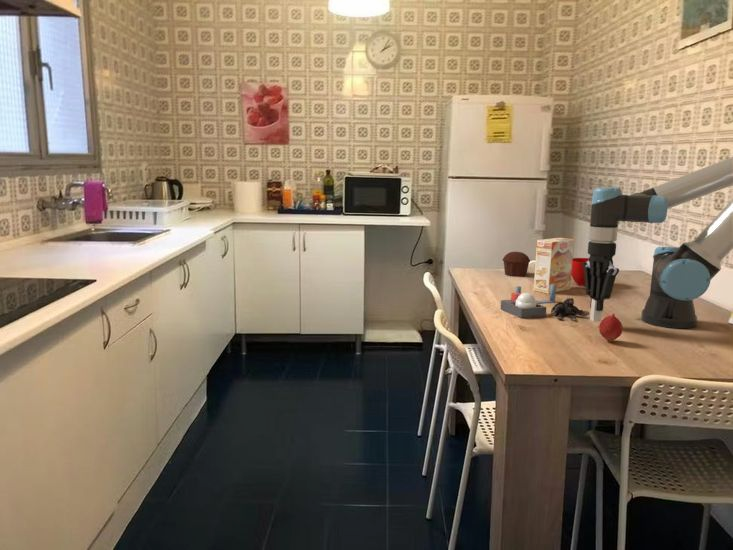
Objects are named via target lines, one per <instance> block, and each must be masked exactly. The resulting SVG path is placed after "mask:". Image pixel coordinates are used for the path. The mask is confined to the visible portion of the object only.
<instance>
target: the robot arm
mask: <svg viewBox="0 0 733 550" xmlns="http://www.w3.org/2000/svg"><path fill="white" fill-rule="evenodd" d="M732 186H733V156H731V157H729V158H725V159H723V160H721V161H718V162H716V163H712V164H710V165H708V166H705V167H702V168H700V169H698V170H694V171H692V172H690V173H687V174H684V175H682V176H679V177H676V178H674V179H672V180H669V181H666V182H664V183H661V184H659V185H656V186H653V187H651V188H649V189H645V190H643V191H640V192H635V193H633V194H631V195H630V194H629V195H628V194H623V193H622V189H621V188H620V187H610V186H609V187H608V186H607V187H605V186H603V187H601V186H599V187H595V188H594V189H593V191H592V198H591V205H590V206H591V207H590V218H589V219H590V220H589V223H590V224H589V231H588V239H589V240H590V241H589V242H588V243H587V244H588V245H587V254H588V255H589V257H588V258H589V260H588V261H587V262H583V263H582V265H583V268H584V275H585V286H584V287H585V295H587V296H589V298H590V306H589V308H590V313H589V321H591V322H601V321H602V312H603V310H604V302H605V300H610V298H611V295H612V292H613V288H614V284H615V281H616V278H617V276H618V274H619V272H620V269H619V268H618V267H615V265H614V261H613V257H614V256H616V252H617V243H616V241H617V240H618V239H617V238H618V231H619V229H618V228H619V222H624V223H625V222H630V223H647V224H648V223H650V224H659V223H660V224H662V223H664V222H665V221H666V219H667V215H668V209H670V208H673V207H677V206H679V205H680V206H681V205H682V204H685V203H687V202H691V201H693V200H696V199H699V198H701V197H705V196H706V195H710V194H712V193H716V192H718V191H721V190H723V189H726V188H728V187H732ZM732 250H733V198H732V199H731V200H730V202H728V203H727V204H726V206H725V207H723V209H722V210H721V211H720V212H719V213H718V214H717V215H716V216H715V217H714V218H713V220H711V222H709V224H708V225H707V226H706V227H705V228H704V229H703V230H702V231H701V232H700V233H699V234H698V235H697V236H696V237H695V239H694V240H692V241H687V242H685V241H684V242H682V244H681V245H680V246H679V247H675V246H673V247H672V246H658V247H655V249H654V253H653V255H652V259H653V262H652V270H651V271H652V272H651V279H650V281H651V282H650V290H649V296H648V299H647V300H646V303H645V305H644V308H643V309H642V311H641V315H640V319H641V321H643V322H644V323H646V324H650V325H653V326H657V327H658V326H659V327H662V328H663V327H664V328H671V329H690V328H691V329H692V328H696V326H697V324H698V323H697V322H698V316H697V315H696V311H695V310H696V309H695V303H694V300H695V299H697V298H700V297H701V296H703V295H704V294H705V293H706V292H707V291H708V288H709V287H710V285H711V280H712V279H713V278H714V277H715V276H716V275H717V274H718V273H719V272H720V271H721V270H722V264H721V263H722V261H723V259H725V257H726V256H727V255H729V253H730V252H731V251H732ZM613 265H614V266H613Z"/></svg>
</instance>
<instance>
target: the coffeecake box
mask: <svg viewBox="0 0 733 550" xmlns="http://www.w3.org/2000/svg"><path fill="white" fill-rule="evenodd" d="M574 244H575V239H573V238H566V237H565V238H564V237H553V238H545V239H544V238H543V239H537V240H536V251H535V253H536V254H535V264H534V265H535V266H534V277H533V278H534V279H533V292H539V293H543V294H546V295H547V294H548V295H550V289H551V284H555V285H556V293H557V292H562V291H568V290H571V280H572V275H571V271H572V260H573V258H574V257H573V256H574V248H575V247H574V246H575V245H574Z"/></svg>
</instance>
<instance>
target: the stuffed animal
mask: <svg viewBox="0 0 733 550" xmlns="http://www.w3.org/2000/svg"><path fill="white" fill-rule="evenodd" d="M574 304H575V299H574V298H572V297H567V298H566V299H565V300H563V302H557V303H555V304H554V306H553V307H552V308H551V310H550V313H549V314H548V316H550V317H556V319H557V320H558V321H564V318H565V317H566V318H568V319H570V321H572V322H576V323H577V322H578V321H579V320H578V319H577V318H578V317H580V316H581V317H587V316H590V311H588V310H583V309H579V307H577V306H576V305H574Z"/></svg>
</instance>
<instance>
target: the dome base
mask: <svg viewBox="0 0 733 550" xmlns="http://www.w3.org/2000/svg"><path fill="white" fill-rule="evenodd" d="M521 294H522V293H521ZM521 294H520V293H515V292H511V294H510V295H511V297H510V299H500V310H501V311H503V312H505V313H508V314H511V315H513V316H515V317H518V318H520V319H527V318H528V319H529V318H531V319H532V318H541V317H543V318H544V317H547V306H545V305H543V304H541V303H539V304H536V307H530V308H521V307H519V306H516V300H517V298H518V296H519V295H521Z"/></svg>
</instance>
